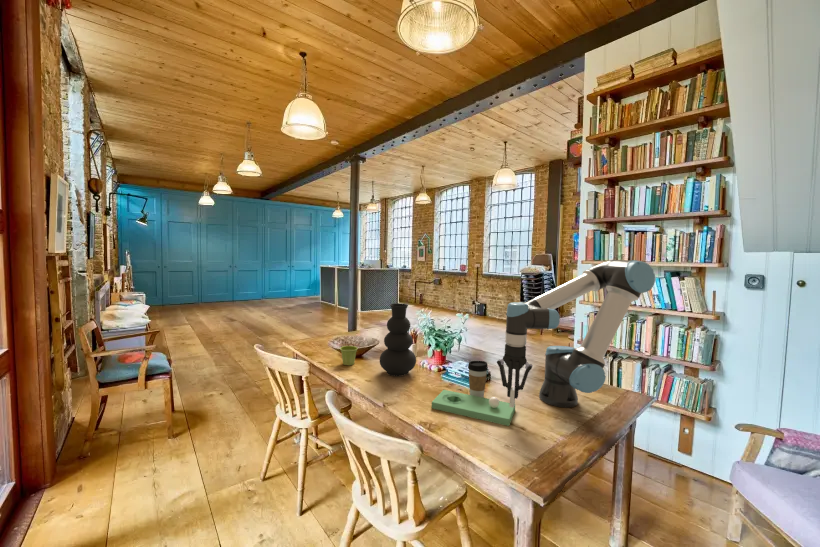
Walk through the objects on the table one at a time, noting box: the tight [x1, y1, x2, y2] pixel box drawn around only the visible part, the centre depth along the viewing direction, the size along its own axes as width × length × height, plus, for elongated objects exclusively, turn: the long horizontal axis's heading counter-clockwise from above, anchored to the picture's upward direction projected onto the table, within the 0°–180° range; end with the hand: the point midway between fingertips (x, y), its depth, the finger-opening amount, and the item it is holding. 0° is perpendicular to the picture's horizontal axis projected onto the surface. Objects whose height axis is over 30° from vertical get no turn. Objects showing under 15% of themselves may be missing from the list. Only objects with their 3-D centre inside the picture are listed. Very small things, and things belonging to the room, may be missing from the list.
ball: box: [488, 396, 500, 408], centre depth 134 cm, size 4×4×4 cm
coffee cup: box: [467, 360, 489, 398], centre depth 150 cm, size 8×8×15 cm
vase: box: [379, 302, 417, 377], centre depth 175 cm, size 18×18×35 cm
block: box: [431, 389, 516, 427], centre depth 138 cm, size 30×14×2 cm, turn 65°
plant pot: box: [339, 345, 359, 366], centre depth 188 cm, size 9×9×9 cm
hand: (512, 405), depth 131 cm, fingers closed
